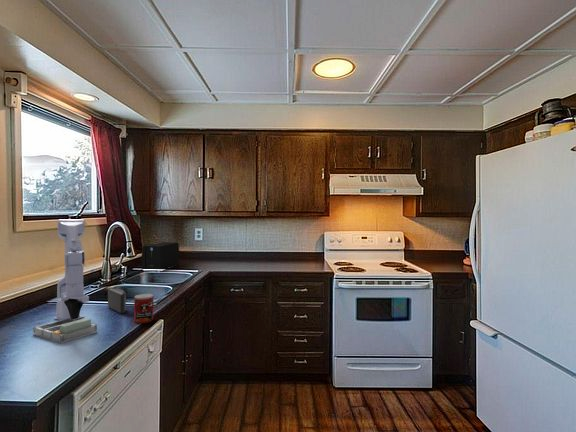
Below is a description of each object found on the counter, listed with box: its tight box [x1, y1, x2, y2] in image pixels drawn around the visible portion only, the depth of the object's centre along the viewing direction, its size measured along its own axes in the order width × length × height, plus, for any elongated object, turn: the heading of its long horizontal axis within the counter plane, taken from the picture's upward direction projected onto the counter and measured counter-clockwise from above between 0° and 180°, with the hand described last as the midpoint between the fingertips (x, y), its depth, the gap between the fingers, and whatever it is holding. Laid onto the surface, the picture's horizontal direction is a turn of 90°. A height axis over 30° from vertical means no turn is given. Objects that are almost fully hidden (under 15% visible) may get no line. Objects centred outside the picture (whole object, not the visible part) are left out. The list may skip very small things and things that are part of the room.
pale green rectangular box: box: [60, 317, 92, 334], centre depth 137 cm, size 3×10×4 cm, turn 152°
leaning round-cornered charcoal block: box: [107, 288, 127, 314], centre depth 172 cm, size 16×5×9 cm, turn 47°
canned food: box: [133, 293, 154, 324], centre depth 156 cm, size 8×8×11 cm
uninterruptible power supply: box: [140, 241, 181, 270], centre depth 291 cm, size 16×34×20 cm, turn 172°
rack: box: [32, 318, 98, 344], centre depth 139 cm, size 18×14×3 cm
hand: (74, 318), depth 136 cm, fingers closed
